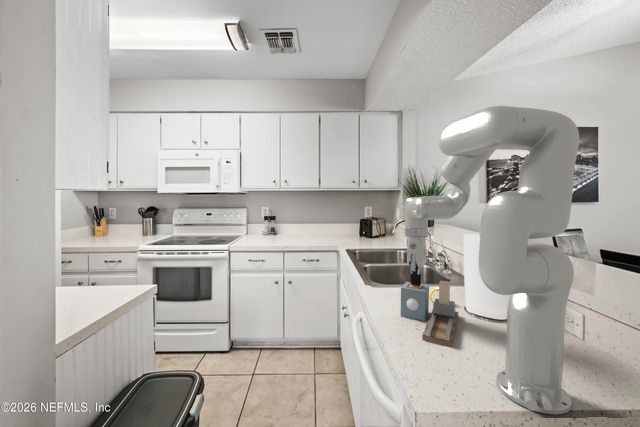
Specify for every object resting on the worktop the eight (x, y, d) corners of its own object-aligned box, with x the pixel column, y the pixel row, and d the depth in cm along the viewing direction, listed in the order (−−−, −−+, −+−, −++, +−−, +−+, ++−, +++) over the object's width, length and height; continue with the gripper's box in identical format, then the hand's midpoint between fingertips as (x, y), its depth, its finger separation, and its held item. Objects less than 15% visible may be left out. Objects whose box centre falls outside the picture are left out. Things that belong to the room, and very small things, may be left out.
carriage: (453, 316, 90) (453, 286, 90) (433, 313, 93) (433, 283, 93) (454, 310, 96) (455, 281, 95) (435, 306, 99) (436, 278, 98)
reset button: (420, 297, 97) (420, 288, 96) (408, 295, 99) (408, 286, 98) (422, 293, 100) (422, 285, 100) (410, 291, 102) (410, 283, 102)
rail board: (452, 346, 78) (453, 337, 78) (422, 339, 82) (422, 330, 82) (458, 316, 98) (458, 308, 98) (433, 311, 102) (433, 304, 102)
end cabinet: (424, 321, 94) (425, 291, 93) (400, 316, 98) (400, 288, 97) (428, 312, 101) (429, 284, 101) (405, 308, 105) (406, 281, 105)
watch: (431, 304, 109) (430, 289, 109) (428, 302, 112) (427, 287, 112) (446, 303, 109) (446, 288, 109) (443, 301, 112) (443, 286, 112)
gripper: (423, 235, 90) (423, 292, 90) (431, 231, 103) (430, 281, 103) (400, 234, 93) (399, 289, 94) (409, 230, 106) (409, 278, 107)
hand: (415, 284), depth 99 cm, fingers closed
